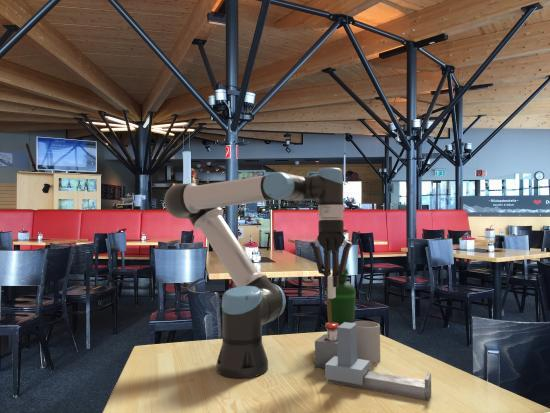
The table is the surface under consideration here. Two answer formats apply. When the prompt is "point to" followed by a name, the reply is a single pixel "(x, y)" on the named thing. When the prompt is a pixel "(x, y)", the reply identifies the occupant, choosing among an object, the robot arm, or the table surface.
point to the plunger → (331, 331)
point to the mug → (368, 341)
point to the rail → (393, 385)
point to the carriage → (347, 357)
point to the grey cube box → (324, 351)
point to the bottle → (342, 302)
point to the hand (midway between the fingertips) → (331, 297)
